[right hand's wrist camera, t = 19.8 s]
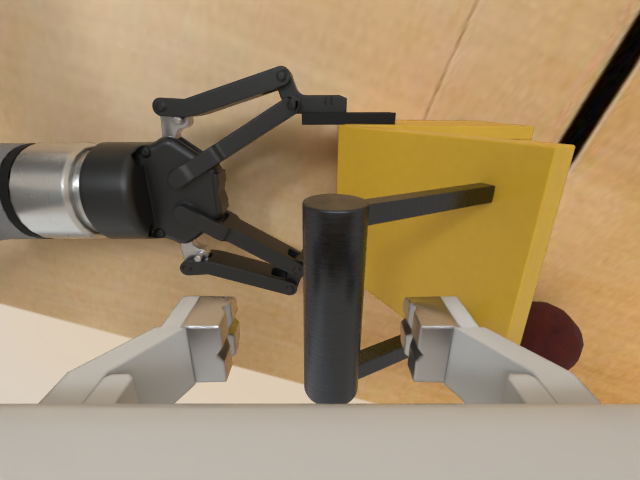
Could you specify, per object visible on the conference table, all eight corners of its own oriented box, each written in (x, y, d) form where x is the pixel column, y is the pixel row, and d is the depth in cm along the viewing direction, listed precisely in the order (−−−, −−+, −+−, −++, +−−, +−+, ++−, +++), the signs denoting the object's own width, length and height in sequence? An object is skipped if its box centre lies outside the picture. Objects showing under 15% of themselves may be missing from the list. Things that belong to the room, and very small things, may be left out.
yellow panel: (576, 144, 12) (350, 163, 7) (511, 377, 15) (337, 476, 11) (353, 125, 23) (212, 127, 18) (347, 263, 26) (228, 291, 22)
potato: (488, 349, 41) (521, 396, 34) (490, 294, 38) (526, 333, 31) (551, 341, 40) (596, 387, 34) (558, 285, 37) (609, 323, 31)
